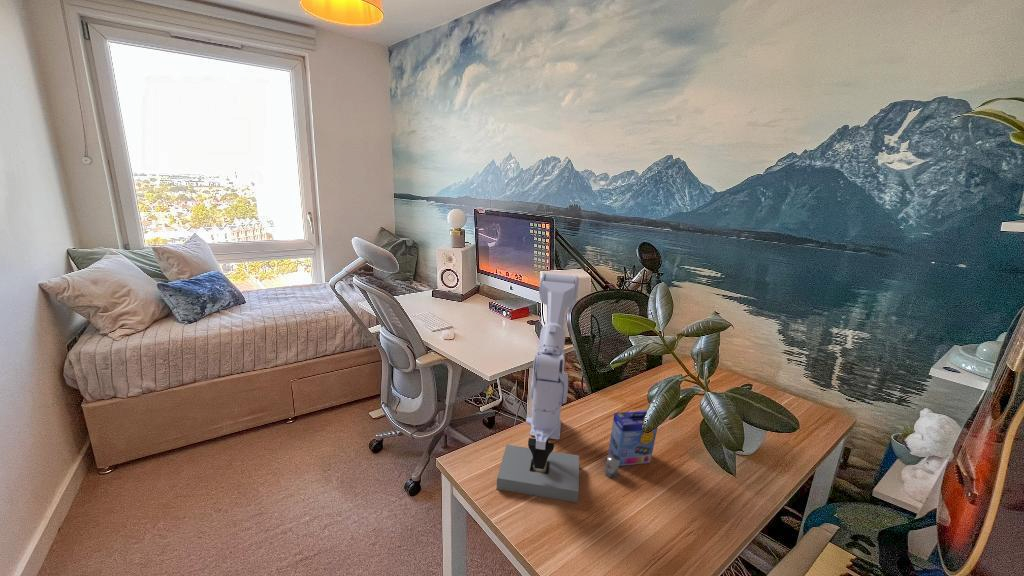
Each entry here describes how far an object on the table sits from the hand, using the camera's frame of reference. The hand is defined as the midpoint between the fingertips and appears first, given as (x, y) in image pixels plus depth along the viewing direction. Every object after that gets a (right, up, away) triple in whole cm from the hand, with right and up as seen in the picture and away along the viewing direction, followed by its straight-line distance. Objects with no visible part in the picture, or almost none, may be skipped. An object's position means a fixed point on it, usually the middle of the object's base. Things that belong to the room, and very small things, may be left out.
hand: (540, 456), depth 95 cm
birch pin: (0, -5, +1) cm, 6 cm away
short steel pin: (+17, -6, +4) cm, 19 cm away
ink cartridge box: (+23, -5, +10) cm, 26 cm away
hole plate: (0, -5, +1) cm, 6 cm away
